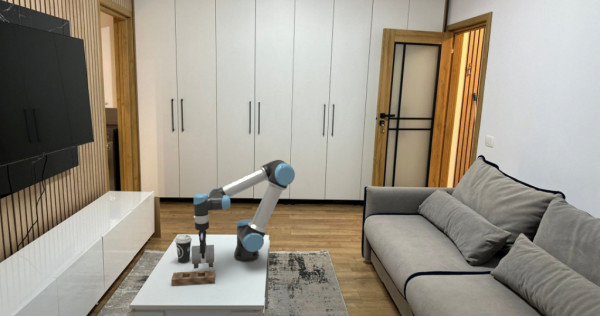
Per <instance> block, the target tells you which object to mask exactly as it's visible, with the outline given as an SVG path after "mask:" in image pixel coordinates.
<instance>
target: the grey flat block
mask: <svg viewBox="0 0 600 316" xmlns="http://www.w3.org/2000/svg"><path fill="white" fill-rule="evenodd" d="M199 252H200V245H191V248H190V253H191V264H192V265H193V269H199V266H200V265H202V264H201V253H199ZM205 252H206V263H205V264H207V265H208V268H214V263H215V245H214V244H206V245H205Z"/></svg>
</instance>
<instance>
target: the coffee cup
mask: <svg viewBox="0 0 600 316" xmlns="http://www.w3.org/2000/svg"><path fill="white" fill-rule="evenodd" d="M192 239H193V238H192V237H191V235H190V234H185V233H184V234H179V235H177V236H176V237H175V240H174V242H175V246H176V253H177V261H178V263H180V264H185V263H186V264H187V263H189V262H190V261H191V248H192V241H193V240H192Z"/></svg>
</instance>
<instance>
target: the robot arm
mask: <svg viewBox="0 0 600 316" xmlns="http://www.w3.org/2000/svg"><path fill="white" fill-rule="evenodd" d="M295 173H296V172H295V169H294V168H293V167H292V166H291V165H290V164H288V163H287V162H286V161H284V160H281V159H275V160H272V161H270V162H268V163H265V164H263V165H261V166H260V168H259V169H257V170H255V171H252V172H250V173H248V174H246V175H244V176H242V177H240V178H238V179H236V180H234V181H231V182H229V183H227V184H226V185H223V186H221V187H219V188H213V189H211V190H210V191H209V193H208V194H207V193H196V194H194V196H193V213H194V216H193V219H194V229H195V230H196V231H198V240H199V246H200V252H199V253H201V264H200V265H203V264H207V263H206V252H205V245H207V231H208V230H209V228H210V218H209V217H210V213H209V212H210V211H211V212H213V211H220V210H221V211H222V210H228V209H230V208H231V197H233V196H235V195H237V194H239V193H242V192H243V191H245V190H247V189H250V188H252V187H255V186H257V185H258V184H260V183H263V182H264V181H267V182H268V186H267V188H266V190H265V192H264V195H263V196H262V198H261V201H260V203H259V205H258V207H257V209H256V211H255V214H254V216H253V218H252V219H249V218H247V219H241V220H238V221H237V223H236V245H235V246H236V247H235V250H234V253H233V258H234V260H236V261H238V262H239V261H240V262H251V261H252V262H253V261H256V260H257V259H258V258H259V257H260V253H259V250H261V249H262V248H263V246H264V244H265V236H266V233H267V230H266V227H267V224H268V223H269V220H270V219H271V216H272V215H273V212H274V209H275V207H276V205H277V203H278V201H279V199H280V198H281V197H280V196H281V195H282V193H283V191H284V190H287V188H288V186H290V184H292V183H293V181H294V180H295V176H296V174H295Z"/></svg>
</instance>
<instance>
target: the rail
mask: <svg viewBox="0 0 600 316" xmlns="http://www.w3.org/2000/svg"><path fill="white" fill-rule="evenodd" d="M170 280H171V287H173V286H176V287H177V286H191V285H194V286H196V285H209V284H213V285H214V284H215V283H216V270H198V271H181V272H180V271H179V272H177V271H175V272H173V273H172V277H171V279H170Z"/></svg>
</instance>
